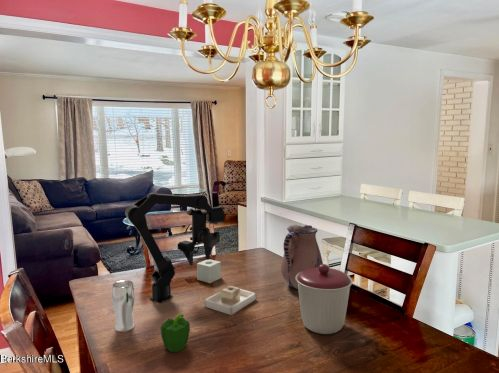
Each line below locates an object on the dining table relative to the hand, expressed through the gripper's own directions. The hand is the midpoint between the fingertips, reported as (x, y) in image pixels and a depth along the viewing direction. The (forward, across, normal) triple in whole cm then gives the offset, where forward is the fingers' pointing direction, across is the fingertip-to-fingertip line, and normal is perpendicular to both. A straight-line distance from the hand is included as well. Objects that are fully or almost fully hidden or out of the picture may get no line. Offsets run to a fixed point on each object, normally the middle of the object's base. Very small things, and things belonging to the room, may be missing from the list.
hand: (199, 262), depth 148 cm
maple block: (+11, -1, -18) cm, 21 cm away
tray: (+12, -1, -18) cm, 21 cm away
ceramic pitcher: (+12, +28, -31) cm, 43 cm away
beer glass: (+12, -36, -2) cm, 38 cm away
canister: (+12, +4, -54) cm, 55 cm away
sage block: (+12, +12, +6) cm, 18 cm away
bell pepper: (+12, -34, -25) cm, 44 cm away
